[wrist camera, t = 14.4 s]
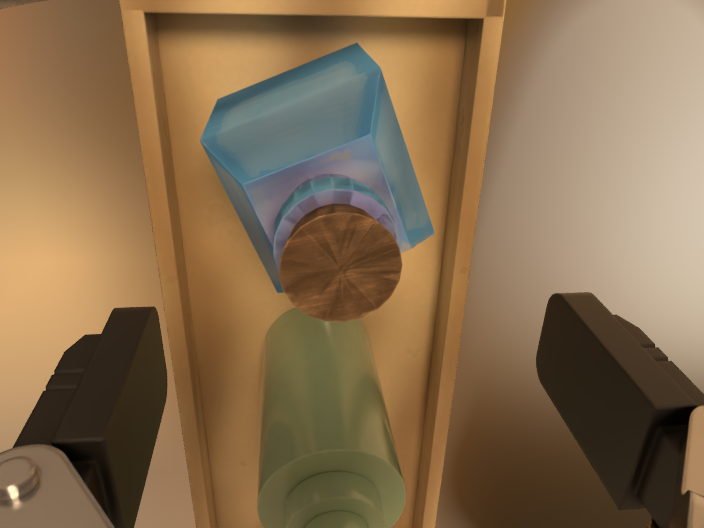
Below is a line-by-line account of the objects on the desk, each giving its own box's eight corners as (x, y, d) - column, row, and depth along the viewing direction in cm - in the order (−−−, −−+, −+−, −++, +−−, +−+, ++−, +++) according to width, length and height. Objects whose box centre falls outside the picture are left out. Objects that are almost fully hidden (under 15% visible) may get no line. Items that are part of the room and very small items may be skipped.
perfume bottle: (356, 42, 24) (420, 110, 13) (402, 176, 27) (484, 320, 16) (217, 99, 24) (170, 209, 14) (277, 225, 27) (277, 396, 16)
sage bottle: (265, 392, 31) (257, 658, 20) (260, 303, 29) (248, 548, 17) (367, 386, 32) (421, 641, 20) (372, 299, 29) (436, 533, 18)
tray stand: (233, 354, 58) (206, 597, 36) (201, -29, 42) (116, -13, 20) (372, 347, 59) (428, 577, 37) (391, -24, 44) (507, -4, 22)
